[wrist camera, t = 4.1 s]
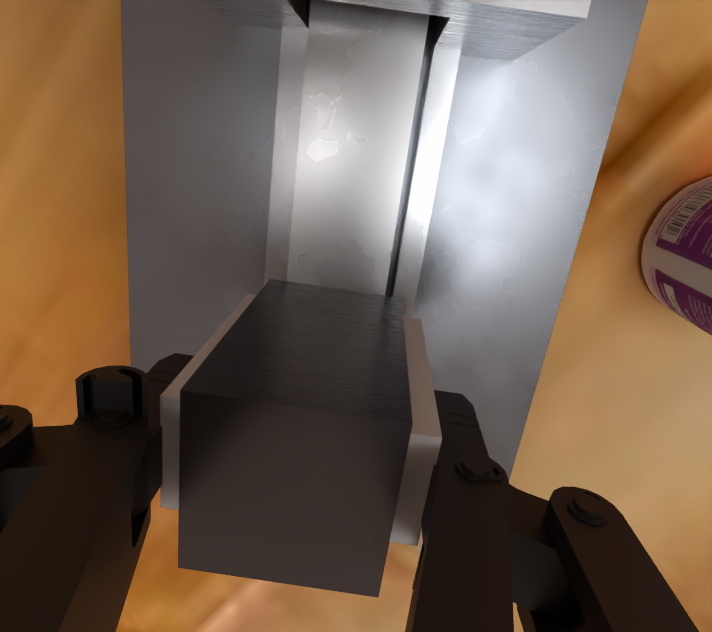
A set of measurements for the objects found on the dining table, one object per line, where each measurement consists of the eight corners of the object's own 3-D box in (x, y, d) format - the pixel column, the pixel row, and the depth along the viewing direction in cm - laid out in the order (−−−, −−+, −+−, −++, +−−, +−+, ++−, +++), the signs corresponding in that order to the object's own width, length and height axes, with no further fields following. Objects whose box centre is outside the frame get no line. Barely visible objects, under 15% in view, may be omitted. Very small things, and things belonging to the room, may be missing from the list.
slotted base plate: (489, 509, 23) (535, 674, 16) (146, 458, 23) (41, 600, 16) (724, -329, 13) (1105, -850, 6) (131, -407, 13) (-150, -1002, 6)
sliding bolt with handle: (382, 371, 19) (378, 597, 10) (279, 356, 19) (178, 567, 10) (469, -149, 14) (647, -760, 4) (325, -168, 14) (193, -818, 4)
